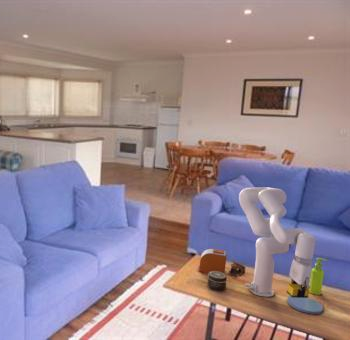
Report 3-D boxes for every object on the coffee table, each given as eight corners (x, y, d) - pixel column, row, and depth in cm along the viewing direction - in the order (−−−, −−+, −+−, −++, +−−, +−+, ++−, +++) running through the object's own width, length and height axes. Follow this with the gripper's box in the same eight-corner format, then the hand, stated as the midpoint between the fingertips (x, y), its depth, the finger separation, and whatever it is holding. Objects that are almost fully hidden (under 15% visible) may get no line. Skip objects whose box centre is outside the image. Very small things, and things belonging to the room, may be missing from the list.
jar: (208, 281, 215) (209, 269, 213) (226, 285, 211) (228, 273, 209) (205, 288, 206) (207, 276, 205) (224, 293, 202) (226, 280, 200)
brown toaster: (224, 270, 231) (226, 249, 228) (224, 276, 223) (226, 254, 220) (200, 266, 236) (202, 245, 233) (198, 271, 228) (200, 250, 226)
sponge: (291, 297, 179) (293, 288, 178) (286, 292, 183) (287, 283, 183) (308, 297, 179) (309, 289, 178) (302, 292, 184) (303, 284, 183)
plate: (298, 313, 184) (298, 311, 184) (281, 297, 200) (281, 295, 200) (329, 314, 185) (330, 311, 185) (310, 297, 201) (310, 295, 201)
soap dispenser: (324, 295, 204) (329, 261, 200) (310, 294, 205) (315, 260, 201) (320, 290, 209) (325, 257, 206) (307, 289, 211) (311, 255, 207)
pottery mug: (224, 272, 229) (229, 260, 230) (236, 278, 230) (241, 266, 232) (235, 276, 217) (240, 263, 218) (248, 282, 219) (253, 269, 220)
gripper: (285, 251, 186) (280, 285, 189) (306, 267, 169) (299, 303, 173) (300, 252, 186) (294, 285, 190) (322, 267, 169) (315, 303, 173)
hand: (297, 293), depth 181 cm, fingers closed on sponge, 5 cm apart
